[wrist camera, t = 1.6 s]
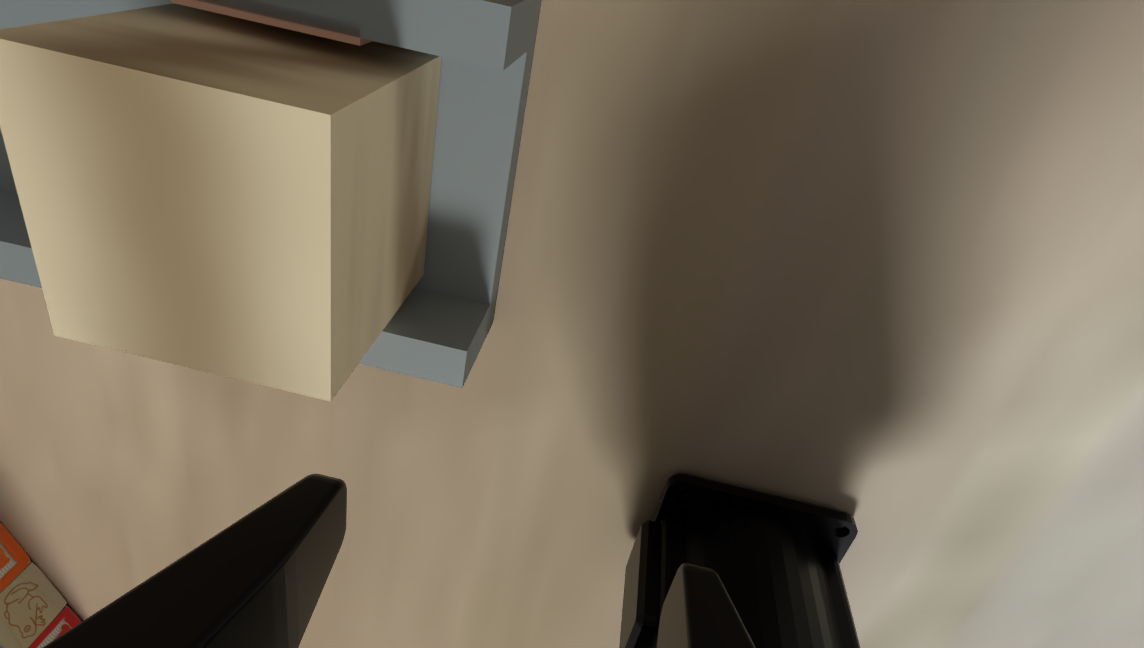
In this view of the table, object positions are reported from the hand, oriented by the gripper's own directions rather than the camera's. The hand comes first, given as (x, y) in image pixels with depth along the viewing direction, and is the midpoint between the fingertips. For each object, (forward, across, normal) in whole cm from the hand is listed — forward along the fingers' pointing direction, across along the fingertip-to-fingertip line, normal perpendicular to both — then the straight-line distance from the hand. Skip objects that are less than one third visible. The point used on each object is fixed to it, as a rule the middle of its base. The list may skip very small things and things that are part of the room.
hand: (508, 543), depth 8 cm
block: (+11, +7, 0) cm, 13 cm away
